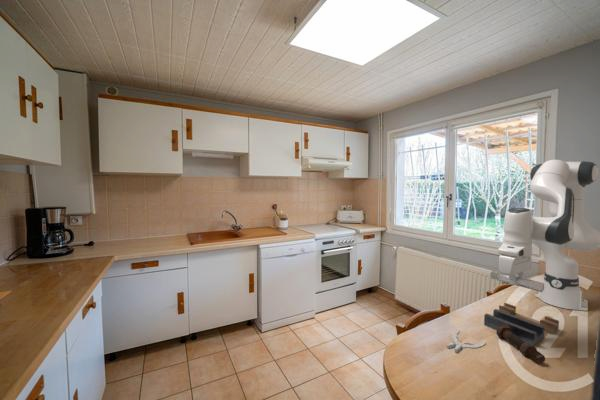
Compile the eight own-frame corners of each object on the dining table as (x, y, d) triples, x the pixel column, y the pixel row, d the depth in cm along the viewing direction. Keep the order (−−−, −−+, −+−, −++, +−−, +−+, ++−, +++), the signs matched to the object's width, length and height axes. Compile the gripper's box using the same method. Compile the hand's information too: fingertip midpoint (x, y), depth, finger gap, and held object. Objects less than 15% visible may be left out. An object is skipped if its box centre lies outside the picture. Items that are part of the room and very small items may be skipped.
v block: (495, 318, 109) (495, 308, 109) (544, 337, 96) (544, 326, 95) (484, 325, 104) (484, 314, 104) (533, 346, 91) (534, 334, 90)
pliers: (486, 340, 92) (466, 354, 84) (486, 344, 92) (466, 359, 84) (458, 327, 100) (437, 339, 92) (457, 331, 100) (437, 343, 92)
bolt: (538, 370, 81) (500, 340, 96) (551, 362, 81) (511, 334, 96) (531, 356, 81) (493, 328, 96) (544, 348, 81) (505, 322, 96)
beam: (504, 311, 116) (505, 302, 116) (558, 330, 101) (559, 320, 100) (498, 314, 113) (499, 305, 113) (553, 334, 98) (553, 324, 97)
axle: (490, 279, 105) (490, 271, 105) (494, 278, 107) (494, 270, 107) (540, 292, 91) (540, 283, 91) (544, 291, 93) (544, 282, 93)
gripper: (518, 244, 106) (516, 276, 107) (495, 249, 96) (494, 284, 97) (537, 247, 101) (536, 280, 101) (516, 253, 91) (514, 290, 91)
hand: (515, 282), depth 99 cm, fingers closed on axle, 3 cm apart
